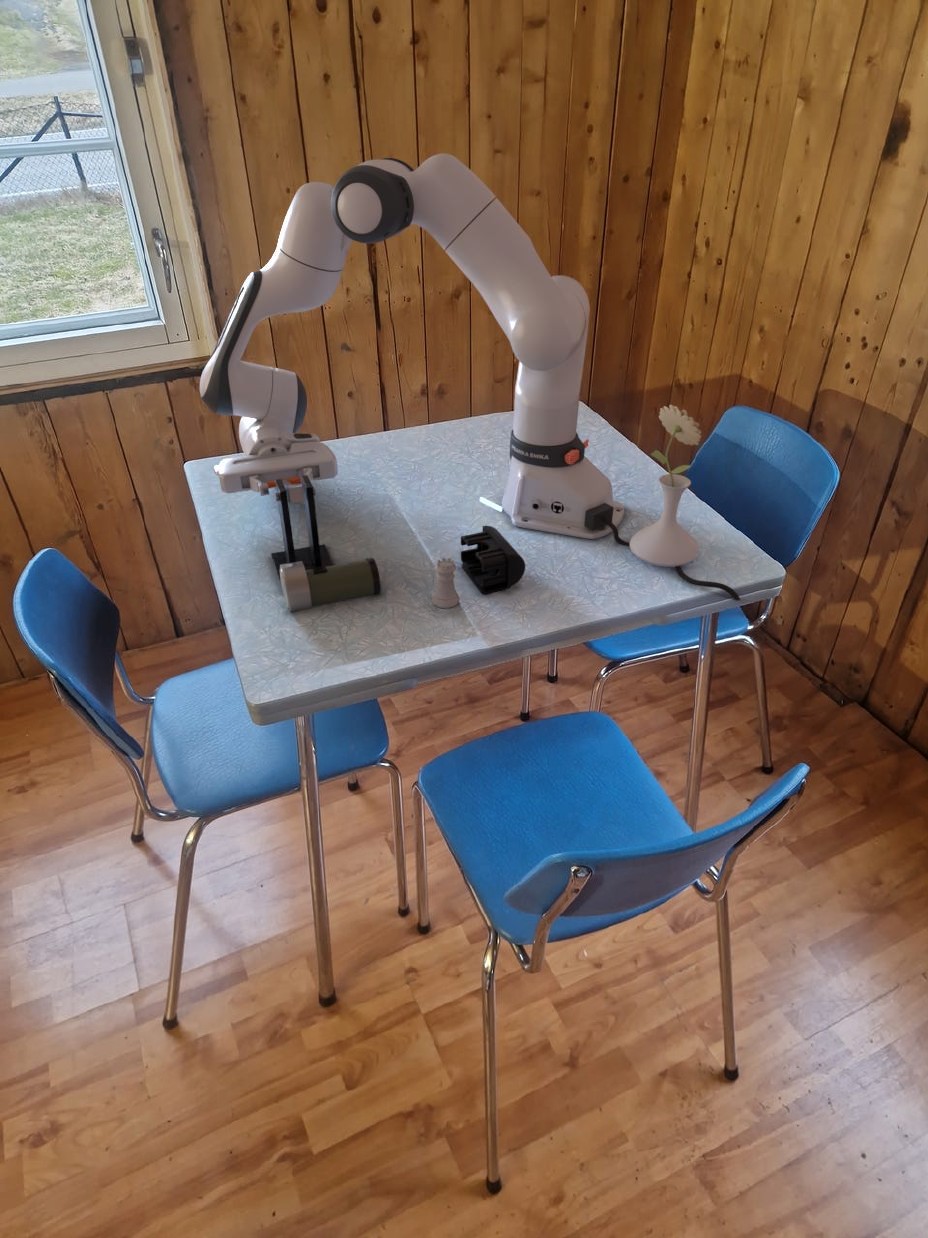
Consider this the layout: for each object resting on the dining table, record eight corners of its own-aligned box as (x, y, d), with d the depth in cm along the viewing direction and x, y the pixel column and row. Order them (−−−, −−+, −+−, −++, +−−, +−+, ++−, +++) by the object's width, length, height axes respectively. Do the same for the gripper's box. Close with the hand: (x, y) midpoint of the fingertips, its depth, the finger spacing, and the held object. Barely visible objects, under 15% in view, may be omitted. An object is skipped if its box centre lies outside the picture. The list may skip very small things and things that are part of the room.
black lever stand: (271, 559, 138) (258, 472, 129) (325, 550, 141) (315, 464, 132) (283, 594, 130) (269, 503, 121) (339, 583, 132) (330, 494, 123)
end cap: (524, 587, 131) (526, 551, 128) (483, 597, 129) (484, 560, 125) (498, 557, 139) (500, 521, 135) (459, 565, 137) (459, 529, 133)
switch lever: (267, 491, 140) (265, 477, 139) (300, 486, 141) (298, 472, 141) (279, 505, 125) (276, 489, 125) (316, 500, 127) (313, 484, 126)
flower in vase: (710, 567, 137) (739, 423, 122) (647, 578, 134) (670, 431, 119) (672, 530, 147) (695, 392, 132) (612, 539, 144) (630, 399, 130)
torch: (291, 621, 124) (285, 580, 120) (282, 596, 129) (276, 556, 125) (382, 603, 128) (380, 563, 124) (370, 579, 133) (368, 540, 129)
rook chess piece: (430, 599, 129) (429, 554, 124) (459, 597, 129) (459, 553, 125) (431, 615, 125) (430, 570, 121) (461, 614, 126) (461, 569, 121)
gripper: (209, 448, 144) (219, 479, 134) (325, 432, 150) (343, 461, 140) (215, 481, 148) (225, 514, 137) (328, 464, 154) (346, 495, 143)
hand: (285, 488), depth 139 cm, fingers closed on switch lever, 5 cm apart
